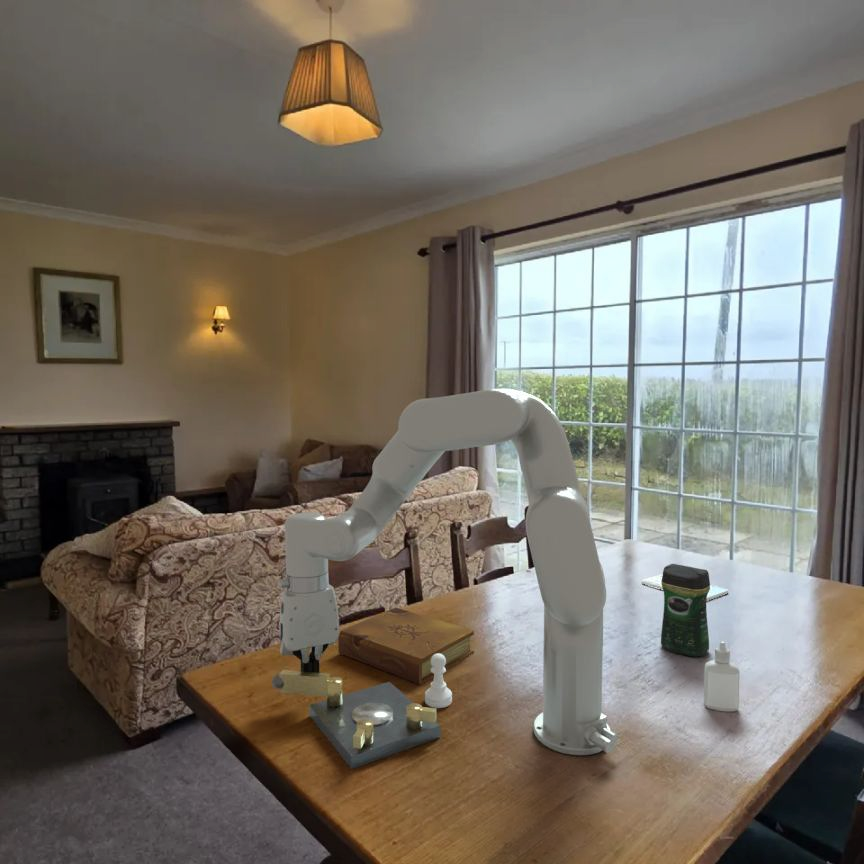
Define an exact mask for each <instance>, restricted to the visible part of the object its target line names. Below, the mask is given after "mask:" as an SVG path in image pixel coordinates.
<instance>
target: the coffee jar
mask: <svg viewBox="0 0 864 864" xmlns="http://www.w3.org/2000/svg"><path fill="white" fill-rule="evenodd" d="M662 574H663V576H662V581H661V583H662V587H663V590H664V591H663V602H664V603H663V614H662V615H663V616H662V625H661V633H660V645H661V646H662V648H663V649H665V650H668V651H670V652H673V653H678V654H681V655H684V656H688V657H693V658H695V657H701V656H705V655H706V654H707V653H708V651H709V649H710V637H709V627H708V615H707V613H708V612H707V602H706V600H707V594H708V592H709V590H710V584H711V583H710V574H709V572H708V570H707V569H703V568H697V567H694V566H693V567H692V566H687V565H682V564H677V563H670V564H668V565H666V566H664V568H663V571H662Z"/></svg>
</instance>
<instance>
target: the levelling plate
mask: <svg viewBox="0 0 864 864" xmlns="http://www.w3.org/2000/svg"><path fill="white" fill-rule="evenodd" d="M308 708H309V709H308V710H309V711H308V713H309V715H310V716H309V718H310V719H311V718H312V719H313V720H314V721H313V720H312V719H311V720H312V721H313V723H314V724H315V723H316V724H317V725H316V724H315V725H316V726H317V727H318V729H319V728H320V729H319V730H320V731H321V733H323V735H324V736H325V738H326V737H327V738H326V739H327V740H328V741H329V742H331V743H330V744H331V745H332V746H333V748H334V747H335V748H334V749H335V750H336V752H337V753H338V752H339V753H338V754H339V755H340V756H341V758H342V759H343V760H344V762H346V764H347V766H348V767H349V766H350V767H349V768H350V769H351V770H354V769H356V768H359V767H362V766H364V765H367V764H371V763H374V762H376V761H379V760H382V759H384V758H386V757H389V756H392V755H395V754H398V753H401V752H404V751H406V750H409V749H411V748H415V747H417V746H420V745H422V744H426V743H428V742H432V741H434V740H436V739H439V738H441V725H440V724H439V723H438V722H437V709H438V708H433V707H427V706H426V707H425V706H422V705H421V704H419V703H417V702H416V703H415V702H414V701H412V700H411V699H410V698H409V697H407V695H406V694H404V693H403V692H402V691H401V690H400V689H398V687H396V686H395V685H394V684H392V683H391V682H390V681H388V682H383V683H380V684H377V685H373V686H371V687H370V686H369V687H367V688H366V687H365V688H363V689H359V690H356V691H352V692H350V693H346V694H343V703H342V704H341V705H339V706H335V707H331V706H328V705H327V699H325V700H322V701H318V702H315V703H312V704H308Z"/></svg>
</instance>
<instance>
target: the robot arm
mask: <svg viewBox="0 0 864 864" xmlns="http://www.w3.org/2000/svg"><path fill="white" fill-rule="evenodd" d="M397 426H398V430H397V431H396V433H394V435H393V436H392V437H391V439H390V440H389V441H388V443H387V444H386V445H385V446H384V447H383V449H382V450H380V453H378V455H377V456H376V457H375V458H374V460H373V464H372V467H371V468H372V469H371V470H372V474H371V477H370V480H369V482H368V483H367V485H366V487H365V488H364V489H363V490H362V493H360V495H359V496H358V497H357V499H356V500H355V501H354V502H353V503H352V505H351V506H350V507H349V508H348V509H347V510H346V511H344V512H342V513H341V514H339V515H337V516H334V517H332V518H329V519H327V518H326V516H325V515H323V513H320V512H299V513H293V514H291V515H290V516H288V517H286V520H285V522H284V542H285V543H284V545H285V547H284V548H285V550H284V551H285V574H284V578H283V579H280V580H278V581H277V582H278V587H279V589H280V588H284V590H283V592H282V597H281V603H280V609H279V625H278V626H279V627H278V629H279V641H280V648H279V653H280V654H281V655H282V656H295V657H296V658H297V659H299V660H300V671H302V672H314V673H320V660H321V659H322V655H323V654H324V653H325V651H326V649H327V648H328V647H331V646H332V645H335V644H336V643H337V644H338V637H339V633H340V619H339V611H338V609H339V608H338V604H337V597H336V593H335V592H336V591H335V589H334V586H333V585H331V584H330V583H329V580H330V579H329V561H330V560H331V561H334V562H335V561H336V562H344V561H348V560H350V559H352V558H354V557H355V556H356V555H357V554H359V553H360V552H361V551H362V550H364V549H365V548H366V547H368V546H370V544H372V543H373V541H374V540H376V538H377V537H378V536H379V534H380V533H382V531H383V530H384V529H385V528H386V526H387V524H389V522H390V521H391V520H392V518H393V517H394V516H395V515H396V513H397V512H398V511H399V509H400V508H401V506H403V504H404V503H405V502H406V501H407V499H409V497H410V495H411V494H412V492H413V491H414V490H415V489H416V487H417V486H419V484H420V482H421V481H422V480H423V479H424V477H425V476H426V475H427V473H428V472H429V471H430V470H431V469H432V467H433V466H434V465H435V464H436V463H437V461H438V460H439V459H440V458H441V456H442V455H443V454H444V453H445V452H446V451H447V452H449V451H456V450H458V451H459V450H463V449H471V448H478V447H485V446H486V447H487V446H496V445H499V444H504V443H507V442H509V441H511V442H512V444H513V446H514V447H515V449H516V452H517V456H518V459H519V465H520V470H521V474H522V477H523V480H524V485H525V490H526V494H527V501H528V507H527V510H526V515H525V529H526V530H525V531H526V537H527V541H528V545H529V549H530V553H531V555H530V556H531V558H532V562H533V566H534V570H535V575H536V579H537V584H538V588H539V592H540V596H541V599H542V603H543V605H544V606H543V658H542V659H543V663H542V664H543V665H542V666H543V671H542V672H543V673H542V674H543V680H542V681H543V686H542V689H543V690H542V691H543V692H542V693H543V695H542V712H541V713H540V714H538V715H537V716H536V717H535V719H534V721H533V733H534V736H535V738H537V740H538V741H539V742H540V743H541V744H542V745H544V746H545V747H546V748H548V749H551V750H553V751H555V752H558V753H561V754H565V755H570V756H589V755H593V754H594V755H595V754H598V753H600V752H602V751H603V752H604V753H606V754H611V753H612V752H613V750H614V747H615V744H616V742H618V739H619V736H618V734H617V733H616V732H614V731H612V730H611V727H610V726H609V724H608V723H607V721H608V719H607V717H608V716H607V715H605V714H604V713H602V712H603V709H602V708H603V653H604V652H603V648H604V608H605V605H606V603H607V602H606V601H607V587H606V579H605V573H604V569H603V566H602V564H601V562H600V559H599V554H598V549H597V546H596V541H595V537H594V533H593V527H592V524H591V519H590V513H589V508H588V505H587V502H586V501H585V498H584V495H583V492H582V489H581V485H580V482H579V477H578V473H577V469H576V464H575V462H574V459H573V454H572V452H571V448H570V444H569V440H568V437H567V434H566V431H565V429H564V427H563V424H562V422H561V421H560V419H559V418H558V416H557V415H556V413H555V411H553V410H552V408H551V407H550V406H549V405H548V404H546V402H544V401H543V400H541V399H540V398H538V397H536V396H535V395H532V394H530V393H527V392H525V391H520V390H516V389H512V388H507V387H504V388H503V387H500V388H499V387H498V388H490V389H483V390H478V391H472V392H466V393H458V394H453V395H446V396H439V397H429V398H420V399H417V400H415V401H412V402H411V403H410V404H408V405H406V407H405V408H404V409H403V411H402V412H401V414H400V417H399V419H398V424H397ZM308 649H310V651H309V650H308Z"/></svg>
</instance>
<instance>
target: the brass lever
mask: <svg viewBox="0 0 864 864" xmlns="http://www.w3.org/2000/svg"><path fill="white" fill-rule="evenodd" d="M271 686H272V687H273V688H274V690H279V694H287V695H300V696H308V697H321V698H326V700H327V705H328V706H331V707H335V706H339V705H341V704H342V703H343V695H344V693H343V679H342V678H341V677H340V676H331V673H326V672H325V673H324V672H319V673H314V672H302V671H301V670H299V671H298V670H291V669H290V670H289V669H282V670H281V671H280V672H278V673H276V674H274V675H273V677H272V679H271Z"/></svg>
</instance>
